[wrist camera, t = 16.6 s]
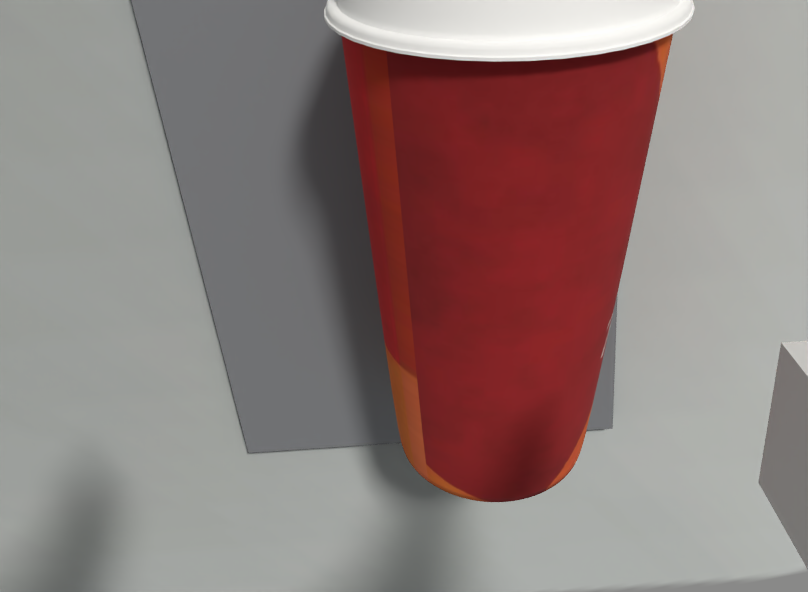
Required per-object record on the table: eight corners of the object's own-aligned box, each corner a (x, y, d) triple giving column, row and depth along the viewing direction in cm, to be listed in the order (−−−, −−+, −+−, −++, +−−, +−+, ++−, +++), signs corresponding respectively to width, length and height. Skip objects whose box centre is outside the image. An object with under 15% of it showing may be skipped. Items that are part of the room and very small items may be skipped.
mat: (250, 444, 30) (248, 452, 30) (81, -222, 20) (73, -224, 19) (609, 420, 29) (612, 428, 29) (633, -294, 19) (638, -298, 18)
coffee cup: (667, 425, 25) (775, -77, 17) (511, 587, 20) (550, 3, 12) (472, 324, 30) (478, -102, 22) (310, 435, 25) (236, -54, 17)
